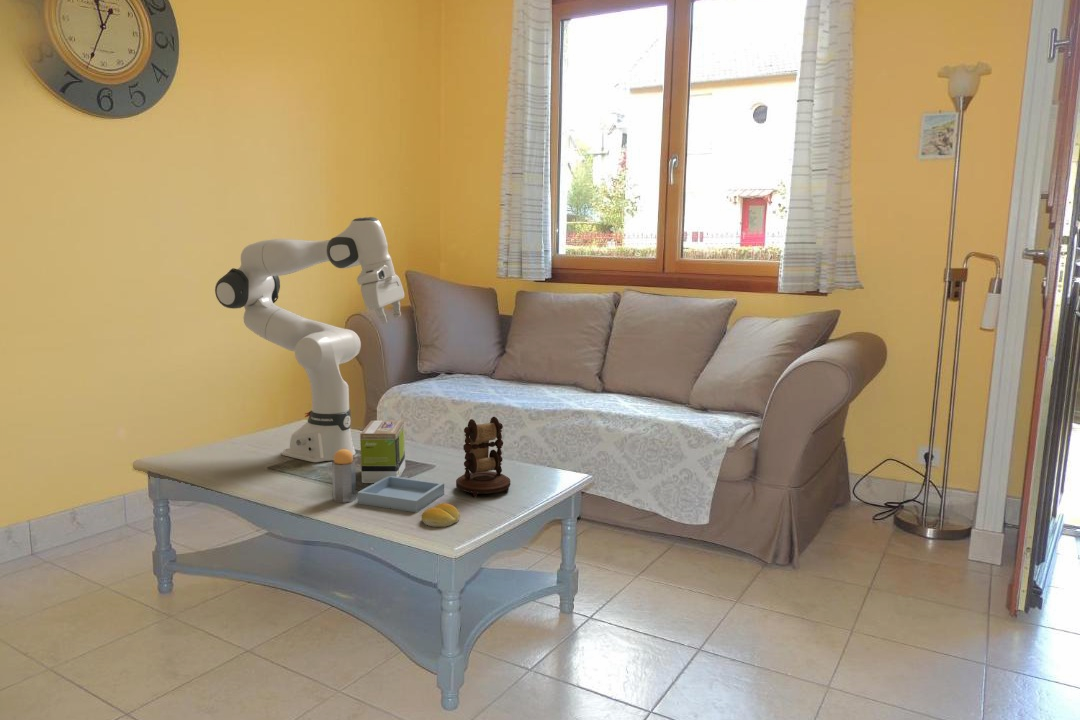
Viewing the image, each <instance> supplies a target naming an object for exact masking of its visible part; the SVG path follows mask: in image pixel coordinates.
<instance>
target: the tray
mask: <svg viewBox="0 0 1080 720" xmlns="http://www.w3.org/2000/svg"><path fill="white" fill-rule="evenodd" d="M443 495H445V483H444V482H437V481H430V480H424V479H415V478H409V477H403V476H402V477H401V476H400V477H395V476H387V477H385V478H383V479H381V480H379V481H378V482H376V483H374V484H370V485H368V486H367V487H365V488H363V489H361V490H359V491H357V505H358V504H359V505H366V506H371V507H378V508H379V507H380V508H386V509H390V508H391V510H397V511H403V512H404V511H405V512H410V513H419V512H420V511H421V510H422V509H425V508H426V507H427V506H429V505H430V504H432V503H433V502H434V501H436V500H438V499H439V498H441V497H442V496H443Z"/></svg>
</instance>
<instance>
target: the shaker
mask: <svg viewBox="0 0 1080 720" xmlns="http://www.w3.org/2000/svg"><path fill="white" fill-rule="evenodd" d="M331 470H332V471H331V475H332V476H331V477H332V479H331V480H332V500H333V501H334V502H335V503H340V504H345V503H351V502H353V501H355V500H357V485H356V484H357V483H356V481H357V480H356V479H357V478H356V477H357V476H356V461H355V460H354V459H353V461H352V463H350V464H344V465H341V464H336V463H335V462H334V460H332V462H331Z"/></svg>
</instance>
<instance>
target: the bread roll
mask: <svg viewBox="0 0 1080 720" xmlns="http://www.w3.org/2000/svg"><path fill="white" fill-rule="evenodd" d="M460 518H461V514H460V512H459V509H457V507H455V506H454V505H452V504H450V503H444V502H441V503H437V504H436V505H435V506H434V507H430V508H427V509H425V510H424V512H422V514H421V521H422V522H423V523H424V525H425V526H427V525H428V527H432V528H444V527H449V526H452V525H453V524H456V523H458V521H459V520H460Z"/></svg>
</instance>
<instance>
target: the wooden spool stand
mask: <svg viewBox="0 0 1080 720" xmlns="http://www.w3.org/2000/svg"><path fill="white" fill-rule="evenodd" d="M489 421H490V422H487V423H486V422H485V423H479V424H477V422H476V421H475V419H473V418H471V419H469V421H468V423H467V426H465V427H464V428H463V432H464V436H465V439H464V445H463V451H464V453H465V455H464V460H465V461H463V466H464V470H465V471H464V474H463V475H461V476H459V477H458V478H456V480H455V485H456V488H457V489H459V490H461V491H462V492H467V493H470V494H472V495H473V498H477V496H478V494H494V493H500V492H503V491H505V493H508V492H509V490H510V489H509V488H510V487H511V479H510V477H508V476H506V475H505V474H503V473H502V472H503V469H502V462H503V457H502V454H503V452H502V447H503V445H504V441H503V435H502V432H503V428H504V425H503V423H501V422H500V421H499V419H498V418H497V416H492V417H491V418H490V420H489ZM490 447H491V448H494V447H496V449H497V450H496V449H491V450H490V451H489V449H490Z"/></svg>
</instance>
